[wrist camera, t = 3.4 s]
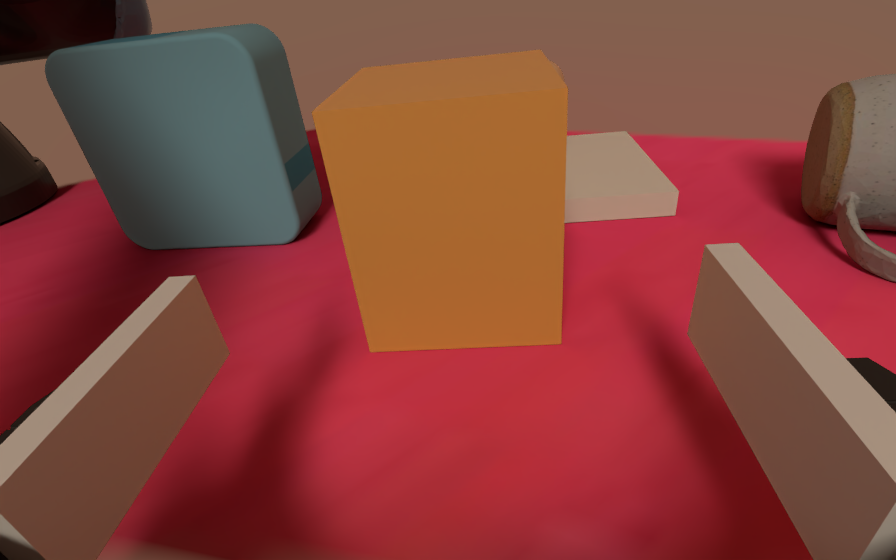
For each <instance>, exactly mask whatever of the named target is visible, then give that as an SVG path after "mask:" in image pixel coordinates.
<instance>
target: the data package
mask: <svg viewBox="0 0 896 560" xmlns="http://www.w3.org/2000/svg"><path fill="white" fill-rule="evenodd" d="M45 73H46V78H47V81H48V84H49V86H50V88H51V90H52V92H53V94H54V96H55V98H56V99H57V102H58V104H59V106H60V107H61V109H62V112H63V114H64V116H65V118H66V119H67V121H68V123H69V125H70V127H71V129H72V131H73V133H74V135H75V137H76V139H77V141H78V143H79V145H80V147H81V149H82V151H83V153H84V155H85V157H86V159H87V161H88V163H89V165H90V167H91V168H92V171H93V173H94V174H95V177H96V179H97V181H98V183H99V185H100V186H101V188H102V190H103V192H104V194H105V196H106V198H107V200H108V202H109V204H110V206H111V208H112V210H113V212H114V214H115V216H116V218H117V220H118V222H119V224H120V226H121V228H122V230H123V231H124V233H125V234H126V235H127V236H128V238H130V239H131V240H132V241H133V242H134V243H136V244H137V245H139V246H141V247H144V248H147V249H152V250H162V249H187V248H211V247H236V246H261V245H282V244H287V243H290V242H291V241H293V240H294V239H295V238H296V237H297V236H298V235H299V234H300V232H301V231H302V230H303V228H304V227H305V226H306V225H307V223H308V222H309V221H310V219H311V218H312V217H313V216H314V214H315V213H316V212H317V210H318V209H319V207H320V205H321V202H322V194H321V189H320V186H319V182H318V178H317V174H316V170H315V166H314V162H313V158H312V154H311V150H310V146H309V143H308V139H307V135H306V131H305V127H304V123H303V119H302V115H301V111H300V107H299V104H298V99H297V96H296V92H295V88H294V84H293V80H292V76H291V72H290V68H289V64H288V60H287V57H286V53H285V50H284V47H283V45H282V43H281V41H280V40H279V39H278V37H277V36H276V35H275V34H274V33H273V32H272V31H270V30H269V29H268V28H266V27H264V26H261V25H258V24H242V25H233V26H224V27H215V28H206V29H198V30H188V31H179V32H171V33H161V34H152V35H143V36H134V37H125V38H116V39H110V40H105V41H100V42H94V43H89V44H84V45H79V46H74V47H69V48H64V49H59V50H56V51H54V52H53V53H51V54H50V55H49V57H48V58H47V61H46V65H45Z"/></svg>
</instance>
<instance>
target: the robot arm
mask: <svg viewBox="0 0 896 560" xmlns="http://www.w3.org/2000/svg"><path fill="white" fill-rule="evenodd" d="M151 32H152V23H151V18H150V14H149V10H148V6H147V3H146V0H0V65H4V64H12V63H18V62H26V61H33V60H40V59H47V58H48V57H49V55H50V54H51V53H53V52H54V51H56V50H59V49H64V48H69V47H74V46H79V45H84V44H89V43H94V42H100V41H105V40H110V39H116V38H125V37H134V36H143V35H151ZM56 191H57V185H56V183H55V181H54V179H53V178H52V176H51V174H50V172H49V171H48V169H47V167H46V166H45V164H44V163H43V162H42V161H41V160H40V159H38V158H37V157H33V156H32V155H31V154H30V153H29V152H28V151H27V149H26V148H25V147H24V146H23V145H22V144H21V143H20V141H19V140H18V139H17V138H16V137H15V136H14V135H13V134H12V133H11V132H10V131H9V130H8V129H7V128H6V127H5V126H4V125H3V124H2V123H1V122H0V223H2V222H4V221H7V220H9V219H12V218H14V217H16V216H18V215H21V214H23V213H25V212H27V211H29V210H31V209H33V208H35V207H36V206H38V205H40V204H42V203H43V202H45V201H46V200H48V199H49V198H50V197H51V196H53V195H54V194H55V192H56ZM687 334H688V336H689V338H690V340H691V342H692V343H693V345H694V347H695V349H696V351H697V352H698V354H699V356H700V358H701V359H702V361H703V363H704V365H705V367H706V368H707V370H708V372H709V374H710V376H711V377H712V379H713V381H714V383H715V385H716V386H717V388H718V390H719V392H720V394H721V395H722V397H723V399H724V401H725V402H726V404H727V406H728V408H729V410H730V411H731V413H732V415H733V417H734V419H735V420H736V422H737V424H738V426H739V428H740V429H741V431H742V433H743V435H744V436H745V438H746V440H747V442H748V444H749V445H750V447H751V449H752V451H753V453H754V454H755V456H756V458H757V460H758V462H759V463H760V465H761V467H762V469H763V471H764V472H765V474H766V476H767V478H768V479H769V481H770V483H771V485H772V487H773V488H774V490H775V492H776V494H777V496H778V497H779V499H780V501H781V503H782V505H783V506H784V508H785V510H786V512H787V514H788V515H789V517H790V519H791V521H792V522H793V524H794V526H795V528H796V530H797V531H798V533H799V535H800V537H801V539H802V540H803V542H804V544H805V546H806V548H807V549H808V551H809V553H810V555H811V556H812V558H813V560H896V374H894V373H892V372H891V371H889V370H887V369H886V368H884V367H882V366H881V365H879V364H877V363H876V362H874V361H872V360H871V359H869V358H845V357H844V356H843V355H842V354H841V353H840V352H839V351H838V350H837V349H836V348H835V347H834V345H833V344H832V343H831V342H830V341H829V340H828V339H827V338H826V337H825V336H824V335H823V334H822V333H821V331H820V330H819V329H818V328H817V327H816V326H815V325H814V324H813V323H812V322H811V321H810V320H809V318H808V317H807V316H806V315H805V314H804V313H803V312H802V311H801V310H800V309H799V308H798V307H797V306H796V304H795V303H794V302H793V301H792V300H791V299H790V298H789V297H788V296H787V295H786V294H785V293H784V291H783V290H782V289H781V288H780V287H779V286H778V285H777V284H776V283H775V282H774V281H773V280H772V279H771V277H770V276H769V275H768V274H767V273H766V272H765V271H764V270H763V269H762V268H761V267H760V266H759V265H758V263H757V262H756V261H755V260H754V259H753V258H752V257H751V256H750V255H749V254H748V253H747V252H746V250H745V249H744V248H743V247H742V246H741V245H740V244H739V243H728V244H711V245H705V248H704V253H703V258H702V263H701V268H700V273H699V278H698V283H697V288H696V293H695V298H694V303H693V308H692V313H691V318H690V323H689V328H688V333H687ZM229 354H230V352H229V350H228V348H227V345H226V343H225V341H224V339H223V336H222V334H221V332H220V330H219V327H218V325H217V323H216V321H215V318H214V316H213V314H212V312H211V309H210V307H209V305H208V303H207V300H206V298H205V296H204V293H203V291H202V289H201V287H200V284H199V282H198V280H197V278H196V275H193V276H177V277H168V278H167V279H166V280H165V281H164V282H163V283H162V284H161V285H160V286H159V287H158V288H157V289H156V290H155V291H154V292H153V293H152V294H151V295H150V296H149V297H148V298H147V299H146V300H145V301H144V302H143V303H142V304H141V305H140V306H139V307H138V308H137V309H136V310H135V311H134V312H133V313H132V314H131V315H130V316H129V317H128V318H127V319H126V320H125V321H124V322H123V323H122V324H121V325H120V326H119V327H118V328H117V329H116V330H115V331H114V332H113V333H112V334H111V335H110V336H109V337H108V338H107V339H106V340H105V341H104V342H103V343H102V344H101V345H100V346H99V347H98V348H97V349H96V350H95V351H94V352H93V353H92V354H91V355H90V356H89V357H88V358H87V359H86V360H85V361H84V362H83V363H82V364H81V365H80V366H79V367H78V368H77V369H76V370H75V371H74V372H73V373H72V374H71V375H70V376H69V377H68V378H67V379H66V380H65V381H64V382H63V383H62V384H61V385H60V386H59V387H58V388H57V389H55V390H54V391H52V392H51V393H49V394H48V395H46V396H45V397H43V398H42V399H40V400H39V401H37V402H36V403H34V404H33V405H32V406H30V407H29V408H28V409H27V410H26V411H25V412H24V413H23V414H22V415H21V416H20V417H19V418H18V419H17V420H16V421H15V422H14V423H13V424H12V425H11V429H10V430H6V431H5V432H4V433H3V434H2V435H1V436H0V560H96V559H97V557H98V556H99V554H100V553H101V551H102V550H103V548H104V547H105V545H106V544H107V542H108V540H109V539H110V537H111V536H112V534H113V533H114V531H115V530H116V528H117V527H118V525H119V524H120V522H121V520H122V519H123V517H124V516H125V514H126V513H127V511H128V510H129V508H130V507H131V505H132V503H133V502H134V500H135V499H136V497H137V496H138V494H139V493H140V491H141V490H142V488H143V487H144V485H145V483H146V482H147V480H148V479H149V477H150V476H151V474H152V473H153V471H154V470H155V468H156V467H157V465H158V463H159V462H160V460H161V459H162V457H163V456H164V454H165V453H166V451H167V450H168V448H169V446H170V445H171V443H172V442H173V440H174V439H175V437H176V436H177V434H178V433H179V431H180V430H181V428H182V426H183V425H184V423H185V422H186V420H187V419H188V417H189V416H190V414H191V413H192V411H193V409H194V408H195V406H196V405H197V403H198V402H199V400H200V399H201V397H202V396H203V394H204V393H205V391H206V389H207V388H208V386H209V385H210V383H211V382H212V380H213V379H214V377H215V376H216V374H217V373H218V371H219V369H220V368H221V366H222V365H223V363H224V362H225V360H226V359H227V357H228V356H229Z"/></svg>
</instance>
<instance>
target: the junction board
mask: <svg viewBox="0 0 896 560" xmlns="http://www.w3.org/2000/svg"><path fill="white" fill-rule="evenodd" d="M548 61H549V60H548ZM549 62H550V63H551V65H552V66H553V68H554V69H555V70H556V72H557V73H558V74H559V76H560V77H561V79H562V80H563V81H564V76H563V73H562V71H561V70H560V68H559V67H558V65H556V64H555V63H554V62H552V61H549ZM678 194H679V191H678V190H677V188H676V187H675V186H674V185H673V184H672V183H671V182H670V180H669V179H668V178H667V177H666V176H665V175H664V174H663V173H662V171H661V170H660V169H659V168H658V167H657V166H656V165H655V163H654V162H653V161H652V160H651V159H650V158H649V157H648V155H647V154H646V153H645V152H644V151H643V150H642V149H641V148H640V146H639V145H638V144H637V143H636V142H635V141H634V140H633V138H632V137H631V136H630V135H629V134H628V133H627V132H626V131H621V132H609V133H598V134H586V135H574V136H567V144H566V182H565V220H564V223H570V222H585V221H600V220H615V219H630V218H644V217H659V216H674V215H675V213H676V207H677V201H678Z"/></svg>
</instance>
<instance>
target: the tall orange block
mask: <svg viewBox="0 0 896 560" xmlns="http://www.w3.org/2000/svg"><path fill="white" fill-rule="evenodd" d="M567 106H568V87H567V86H566V84H565V83H564V81H563V80H562V79H561V77H560V76H559V74H558V73H557V72H556V70H555V69H554V68H553V66H552V65H551V63H550V62H549V61H548V59H547V58H546V56H545V55H544V54H543V53H542V51H541V50H532V51H522V52H513V53H503V54H493V55H484V56H474V57H465V58H454V59H445V60H435V61H425V62H416V63H406V64H396V65H386V66H376V67H366V68H362V69H361V70H360V71H358V72H357V73H356V74H355V75H354V76H353V77H351V78H350V79H349V80H348V81H347V82H346V83H345V84H343V85H342V86H341V87H340V88H339V89H338V90H337V91H335V92H334V93H333V94H332V95H331V96H330V97H329V98H327V99H326V100H325V101H324V102H323V103H321V104H320V105H319V106H318V107H317V108H316V109H314V110H313V111H312V116H313V120H314V124H315V128H316V132H317V136H318V140H319V144H320V148H321V152H322V157H323V161H324V165H325V169H326V173H327V177H328V181H329V185H330V189H331V193H332V198H333V202H334V206H335V210H336V214H337V218H338V222H339V226H340V230H341V234H342V239H343V243H344V247H345V251H346V255H347V259H348V263H349V267H350V271H351V275H352V280H353V284H354V288H355V292H356V296H357V300H358V304H359V308H360V312H361V316H362V321H363V325H364V329H365V333H366V337H367V341H368V345H369V349H370V352H386V351H409V350H433V349H457V348H480V347H504V346H528V345H552V344H561V334H562V296H563V258H564V220H565V182H566V144H567Z"/></svg>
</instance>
